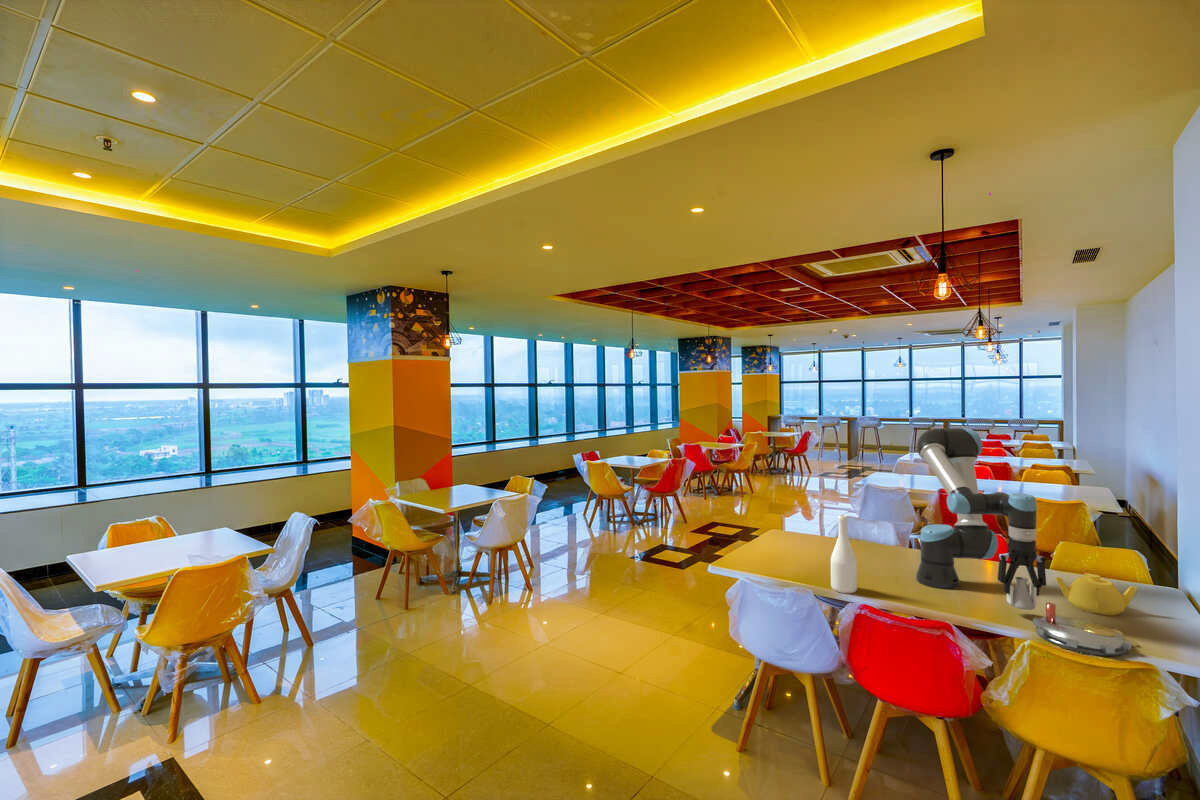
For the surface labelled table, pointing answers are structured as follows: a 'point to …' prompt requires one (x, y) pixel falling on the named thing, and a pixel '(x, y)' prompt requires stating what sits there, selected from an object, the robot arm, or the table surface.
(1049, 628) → the turntable
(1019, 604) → the flask
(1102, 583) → the teapot
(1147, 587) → the table surface
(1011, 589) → the robot arm
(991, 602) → the table surface
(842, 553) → the wine bottle
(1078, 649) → the base
